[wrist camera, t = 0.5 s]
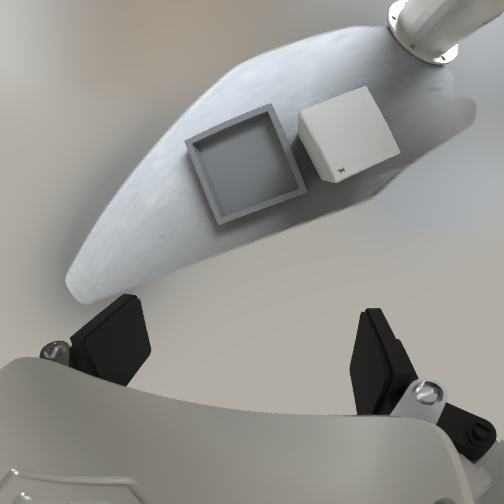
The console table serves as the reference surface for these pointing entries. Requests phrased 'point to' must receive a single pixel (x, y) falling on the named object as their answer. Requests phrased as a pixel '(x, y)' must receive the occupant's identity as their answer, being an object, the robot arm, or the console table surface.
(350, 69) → the console table surface
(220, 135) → the holder tray
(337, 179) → the supplement box
